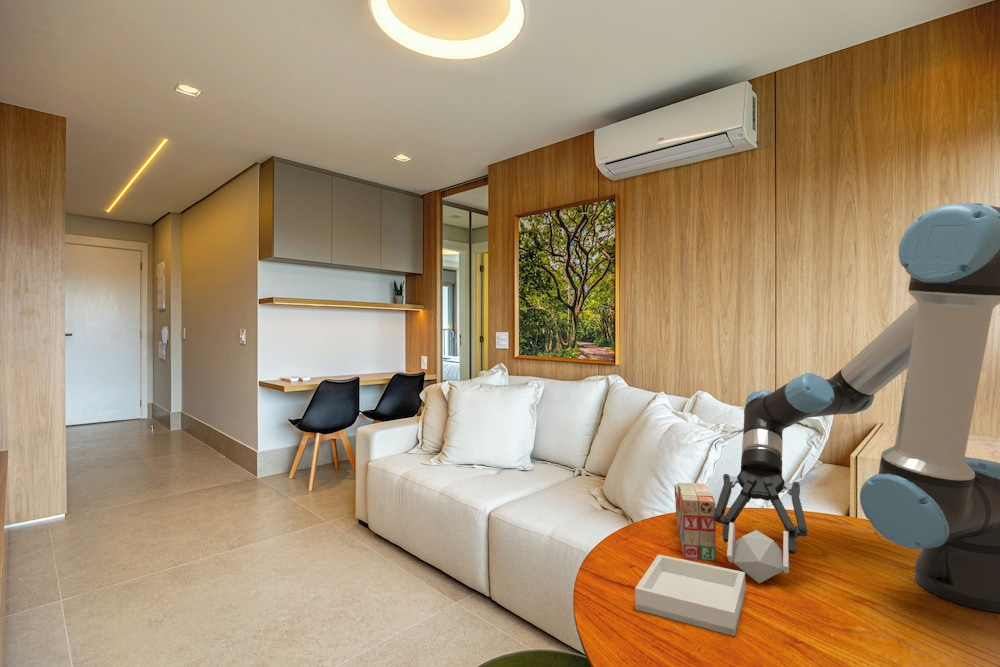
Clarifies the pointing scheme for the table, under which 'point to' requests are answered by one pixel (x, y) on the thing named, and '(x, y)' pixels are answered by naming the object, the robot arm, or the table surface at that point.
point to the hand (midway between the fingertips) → (757, 564)
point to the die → (758, 556)
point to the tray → (692, 593)
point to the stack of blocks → (696, 520)
